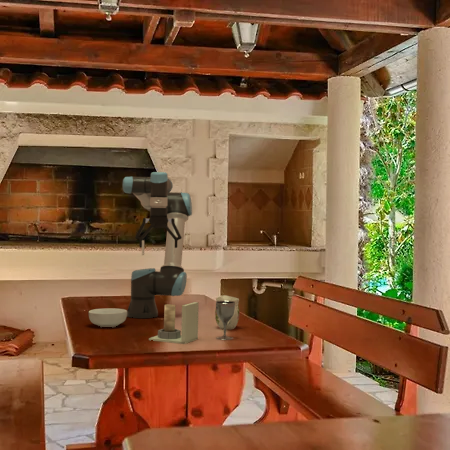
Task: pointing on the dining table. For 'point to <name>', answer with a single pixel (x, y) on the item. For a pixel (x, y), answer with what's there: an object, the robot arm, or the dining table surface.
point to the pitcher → (235, 318)
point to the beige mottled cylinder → (169, 318)
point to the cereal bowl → (107, 317)
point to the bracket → (188, 327)
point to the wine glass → (225, 315)
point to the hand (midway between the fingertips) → (158, 255)
